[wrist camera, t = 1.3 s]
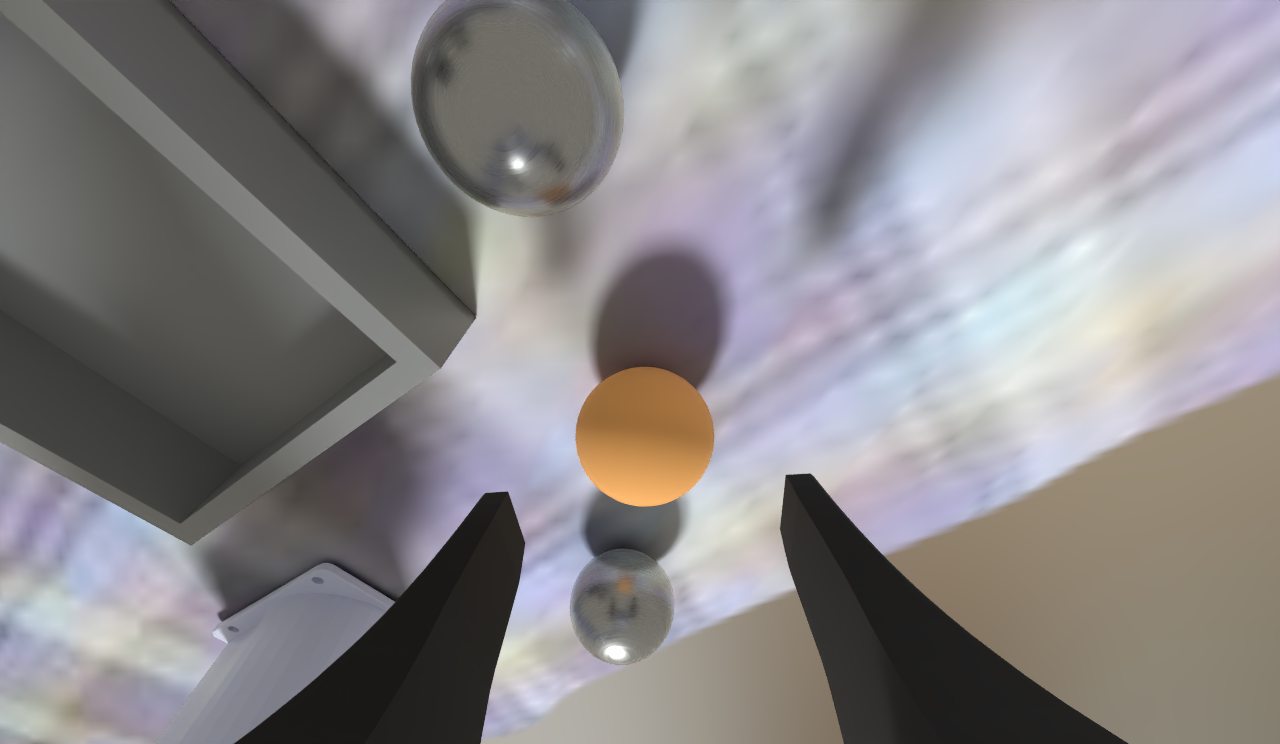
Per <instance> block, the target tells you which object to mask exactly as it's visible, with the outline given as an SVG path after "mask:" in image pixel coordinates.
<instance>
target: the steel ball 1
mask: <svg viewBox="0 0 1280 744" xmlns="http://www.w3.org/2000/svg"><path fill="white" fill-rule="evenodd" d="M411 95H412V103H413V110H414V114H415V118H416V122H417V125H418V128H419V131H420V133H421V136H422V138H423V140H424V143H425V145H426V147H427V149H428V151H429V152H430V154H431V156H432V157H433V159H434V160H435V162H436V164H437V165H438V166H439V167H440V169H441V170H442V171H443V173H444V174H445V175H446V176H447V177H448V178H449V179H450V180H451V181H452V182H453V183H454V185H456V186H457V187H458V188H459V189H460V190H462V191H463V192H464V193H465V194H467V195H468V196H470V197H471V198H473V199H474V200H476V201H477V202H479V203H481V204H483V205H485V206H487V207H489V208H491V209H494V210H497V211H499V212H502V213H506V214H510V215H515V216H524V217H535V216H544V215H550V214H554V213H557V212H561V211H564V210H566V209H568V208H570V207H572V206H574V205H576V204H577V203H579V202H580V201H582V200H583V199H585V198H586V197H587V196H588V195H589V194H590V193H591V192H593V191H594V190H595V188H596V187H597V186H598V185H599V184H600V183H601V181H602V180H603V179H604V177H605V176H606V174H607V173H608V171H609V170H610V168H611V166H612V164H613V161H614V159H615V157H616V154H617V151H618V148H619V145H620V141H621V136H622V131H623V120H624V107H623V95H622V89H621V83H620V79H619V76H618V72H617V69H616V66H615V64H614V61H613V58H612V56H611V54H610V52H609V50H608V48H607V46H606V44H605V42H604V40H603V39H602V37H601V36H600V34H599V33H598V32H597V30H596V29H595V27H594V26H593V25H592V24H591V22H590V21H589V20H588V19H587V18H586V17H585V16H584V15H583V14H582V13H581V12H580V11H579V10H578V9H577V8H576V7H575V6H573V5H572V4H571V3H570V2H568V1H567V0H446V1H445V2H444V3H443V4H442V5H441V6H440V7H439V8H438V9H437V10H436V12H435V13H434V14H433V15H432V16H431V18H430V19H429V21H428V23H427V25H426V26H425V28H424V30H423V32H422V34H421V36H420V39H419V41H418V44H417V47H416V50H415V54H414V58H413V63H412V72H411Z"/></svg>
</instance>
